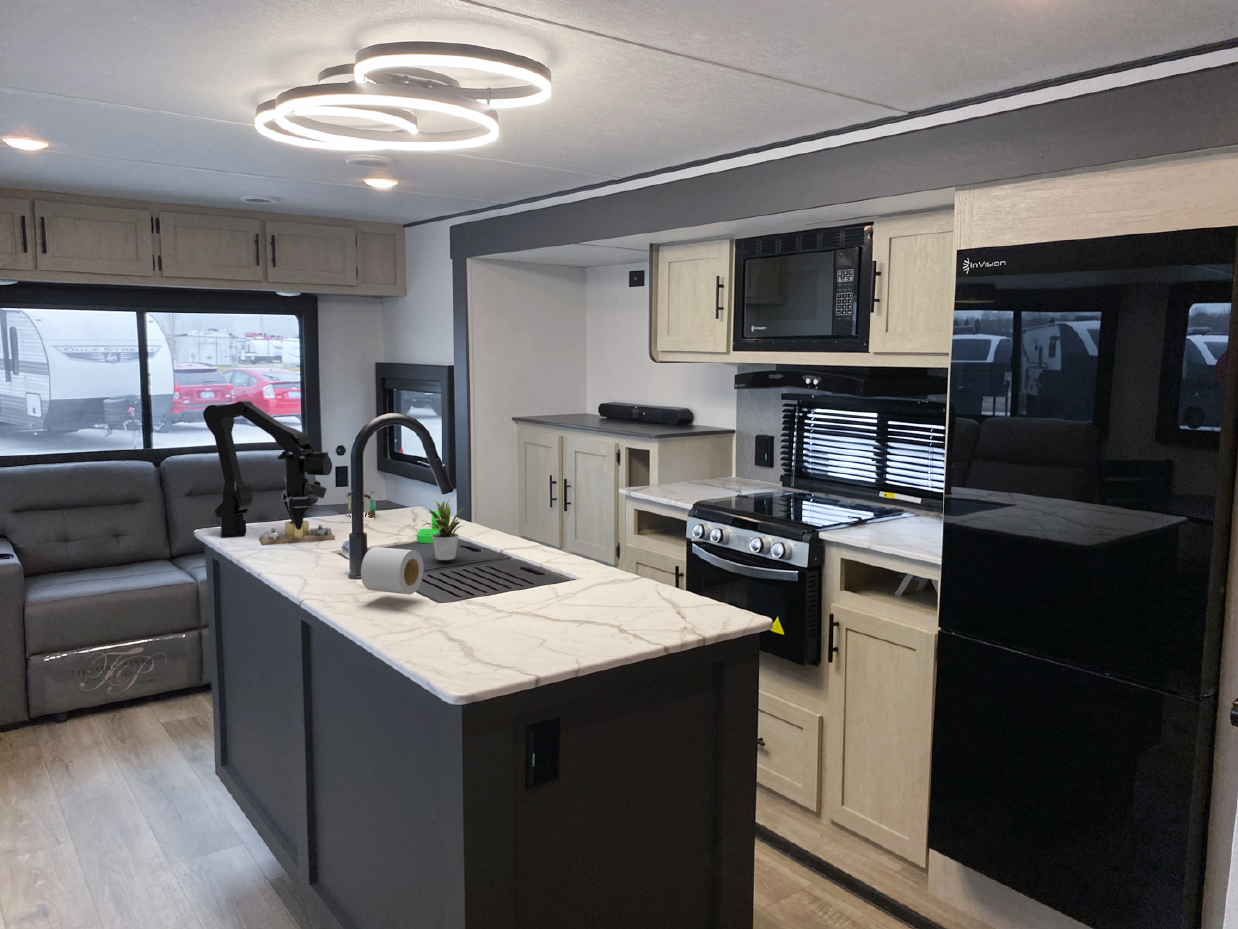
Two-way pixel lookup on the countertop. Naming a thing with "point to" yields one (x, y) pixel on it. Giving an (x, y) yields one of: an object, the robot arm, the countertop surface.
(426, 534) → the mechanical part
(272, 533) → the gear
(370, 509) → the food container
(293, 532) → the tan hollow octagonal ring
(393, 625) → the countertop surface
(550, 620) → the countertop surface
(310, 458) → the robot arm
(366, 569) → the toilet paper
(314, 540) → the gear board
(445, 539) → the house plant
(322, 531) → the gear
